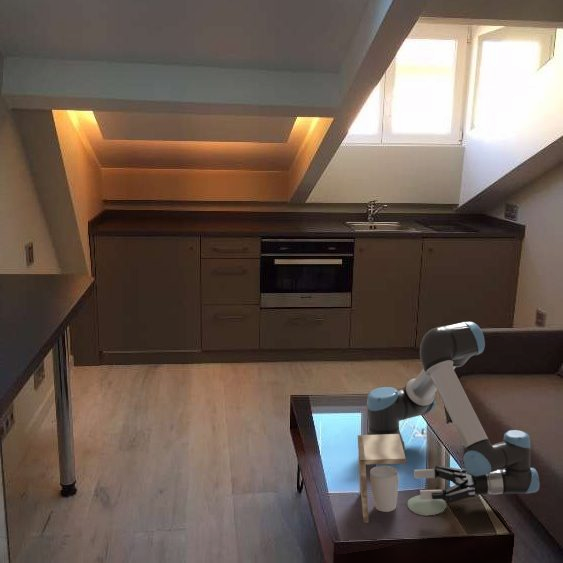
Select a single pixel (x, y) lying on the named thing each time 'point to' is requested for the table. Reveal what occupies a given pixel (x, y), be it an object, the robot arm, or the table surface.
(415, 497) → the mat
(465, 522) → the table surface
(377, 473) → the cup
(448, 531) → the table surface
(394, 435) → the shelf
